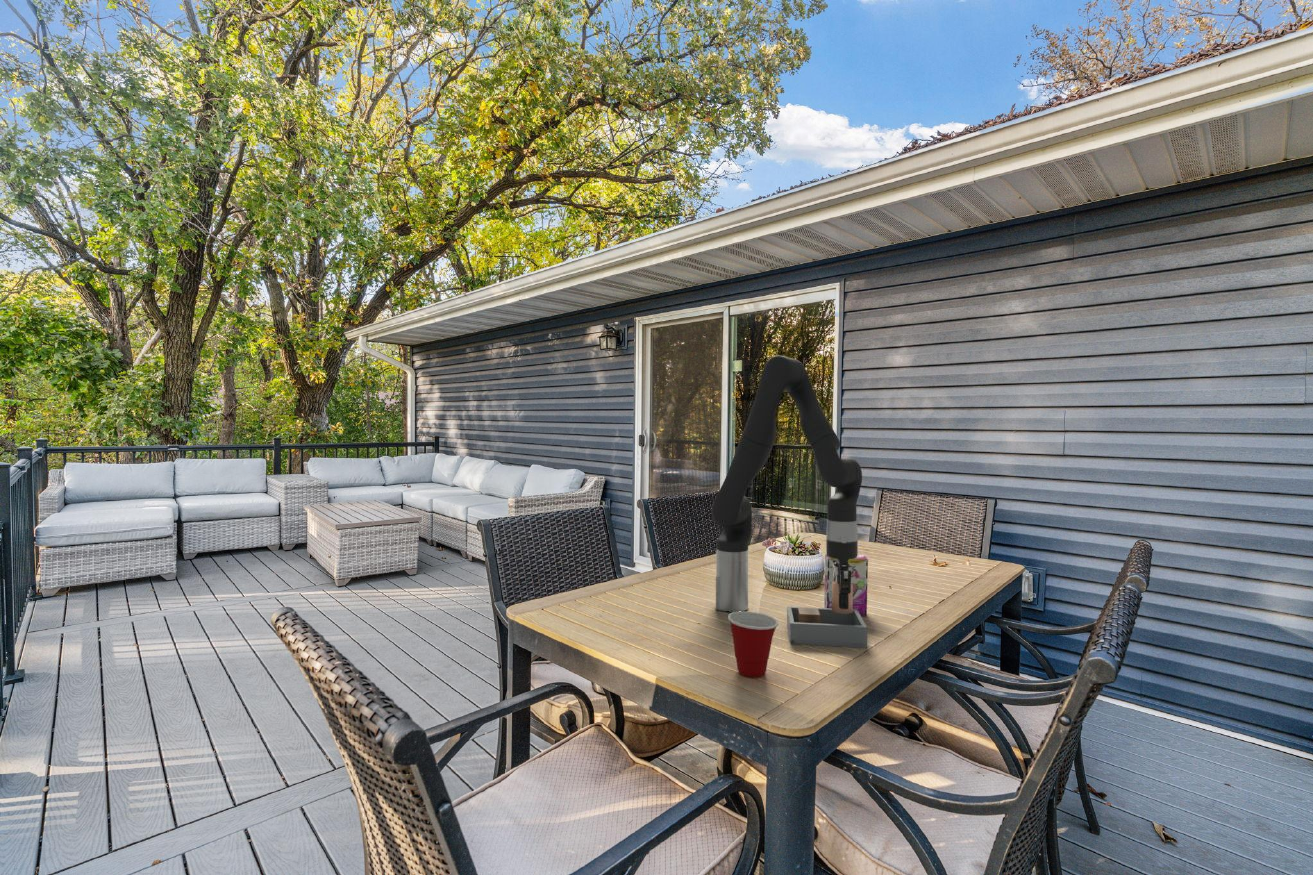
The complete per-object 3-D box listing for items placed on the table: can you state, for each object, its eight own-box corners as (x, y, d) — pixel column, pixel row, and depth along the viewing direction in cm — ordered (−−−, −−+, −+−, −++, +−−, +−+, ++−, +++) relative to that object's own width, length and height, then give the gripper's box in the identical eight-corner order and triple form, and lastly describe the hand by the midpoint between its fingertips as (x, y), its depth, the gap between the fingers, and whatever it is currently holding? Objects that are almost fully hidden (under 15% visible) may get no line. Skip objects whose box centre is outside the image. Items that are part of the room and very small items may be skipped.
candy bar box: (827, 615, 169) (827, 557, 169) (823, 610, 174) (824, 553, 174) (868, 616, 168) (868, 558, 168) (863, 611, 173) (864, 554, 173)
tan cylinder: (833, 613, 150) (833, 585, 150) (830, 607, 155) (830, 580, 155) (854, 614, 149) (854, 585, 149) (850, 608, 154) (850, 580, 154)
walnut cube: (799, 633, 151) (799, 613, 151) (798, 627, 156) (798, 608, 156) (819, 634, 150) (820, 614, 150) (817, 628, 155) (818, 609, 155)
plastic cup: (784, 682, 125) (785, 624, 124) (733, 684, 124) (733, 626, 124) (770, 662, 136) (771, 608, 135) (723, 663, 135) (723, 610, 134)
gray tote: (790, 643, 147) (790, 623, 147) (786, 625, 161) (787, 606, 161) (867, 647, 144) (867, 627, 144) (857, 628, 158) (857, 609, 158)
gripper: (823, 532, 159) (823, 596, 159) (830, 542, 145) (830, 613, 145) (852, 533, 158) (852, 598, 158) (862, 543, 144) (862, 614, 144)
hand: (841, 604), depth 152 cm, fingers closed on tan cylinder, 5 cm apart
